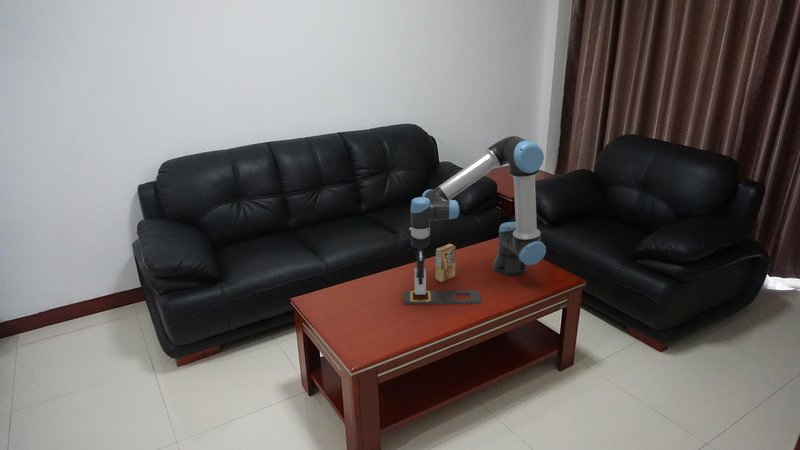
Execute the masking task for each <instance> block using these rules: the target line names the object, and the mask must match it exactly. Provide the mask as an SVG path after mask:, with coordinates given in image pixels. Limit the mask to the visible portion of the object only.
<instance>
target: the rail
mask: <svg viewBox="0 0 800 450" xmlns="http://www.w3.org/2000/svg"><path fill="white" fill-rule="evenodd" d="M457 295H461V296H462V295H463V296H464V295H469V297H470V299H457V297H456V296H457ZM414 296H427V299H413V298H414ZM463 304H464V305H469V304H470V305H473V304H474V305H475V304H476V305H480V304H482V299H481V296H480V292H479V290H426V294H417V295H415V290H407V291H403V305H463Z"/></svg>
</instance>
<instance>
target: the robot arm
mask: <svg viewBox="0 0 800 450" xmlns="http://www.w3.org/2000/svg"><path fill="white" fill-rule="evenodd" d="M544 157H545V156H544V151H543V149H542V147H541V146H540V145H539V144H537V143H535V142H534V141H532V140H529V139H524V138H522V137H520V136H515V135H512V136H511V135H510V136H507V137H504V138H502V139H500V140H498V141H497V142H494V143H493V144H492V145H490V146H489V147H488V148H486V149H485V153H483V154H482V155H481V156H479V157H478V158H477V159H474V161H472V162H471V163H469V164H467V166H465V167H464V168H462V169H461V170H459V171H458V172H457V173H455V174H454V175H453V176H451V177H450V178H449V179H447V180H446V181H444V182H443V183H441V184H440V185H439V186H437V187H435V188H434V189H427V190H425V191H424V192H423V193H422V195H421V196H419V197H417V196H416V197H415V198H414V197H413V199H411V203H410V227H409V231H410V232H411V233H410V235H411V236H410V244H411V245H410V246H412V247H414V248H415V259H416V268H418V275H416V277H417V291H424V268H425V269H426V267H425V262H424V261H426V258H425V257H426V256H425V255H426V248H427V247H429V246H430V245H431V243H430V241H431V239H430V236H431V223H430V222H437V221H444V220H446V221H447V220H452V219H457V218H458V217H459V215H460V206H459V205H460V204H459V203H458V201H457V200H455V199H453V198H454V197H456V196H457V195H459V194H460V193H462V192H463V191H465V190H466V189H467V188H469V187H470V186H471V185H473V184H474V183H476V182H477V181H479V180H480V179H481V178H483V177H484V176H486V175H487V174H489V173H490V172H491V171H493V170H494V169H495V168H497V169H499V168H501V167H502V166H504V165H508V169H509V170H508V171H509V175H510V177H512V178H513V191H514V193H513V194H514V212H515V213H514V214H515V215H514V216H515V221H507V222H503V223H501V224H500V225H499V228H498V229H499V230H498V245H497V246H498V247H497V249H498V250H497V255H496V257H495V258H494V262H493V266H492V267H493V268H492V269H493V271H494V272H495V273H497V274H499V275H501V276H507V277H518V276H521V275H522V276H523V275H524V274H526V271H527V265H528V266H531V265H536V264H538V263H539V262H541V260H542V259H543V258H544V257H545V255H546V252H547V247H546V245H545V244H544V243H543V242H542V241H541V240H542V239H541V235H542V234H541V231H540V230H539V229H538V228H537V202H536V201H537V197H536V195H537V193H536V176H537V175H538V174H539V173H540V168H541V167H542V165H543V163H544Z"/></svg>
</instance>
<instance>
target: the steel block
mask: <svg viewBox="0 0 800 450" xmlns="http://www.w3.org/2000/svg"><path fill="white" fill-rule="evenodd" d="M416 275H418V268H417V267H414V291H415V295H414V296H418V295H417V294H426V291H427V279H426V278H427V270H426V267H425V268H424V291H417V277H416Z"/></svg>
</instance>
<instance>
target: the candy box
mask: <svg viewBox="0 0 800 450" xmlns="http://www.w3.org/2000/svg"><path fill="white" fill-rule="evenodd" d="M456 251H457V247H456V246H455V245H453V244H451V243H448V244H446V245H443V246H440V247H438V248H436V249H435V277H434V278H435V280H437V281H438V282H444V281H446V280H449V279H452V278H455V277H456V276H455V275H456V257H457V256H456V253H457V252H456Z"/></svg>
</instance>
